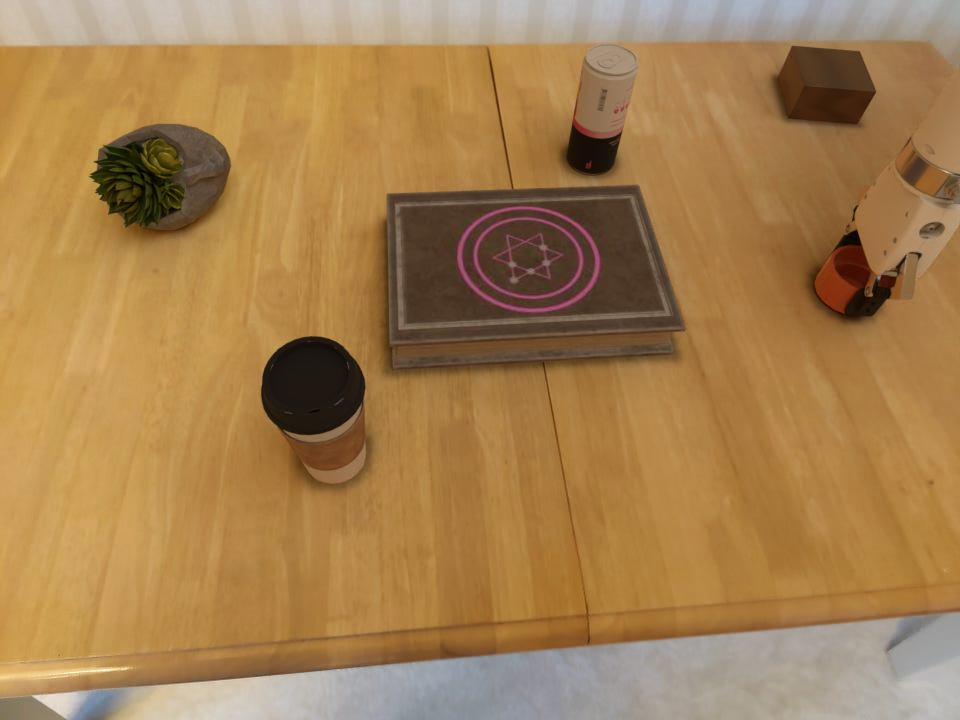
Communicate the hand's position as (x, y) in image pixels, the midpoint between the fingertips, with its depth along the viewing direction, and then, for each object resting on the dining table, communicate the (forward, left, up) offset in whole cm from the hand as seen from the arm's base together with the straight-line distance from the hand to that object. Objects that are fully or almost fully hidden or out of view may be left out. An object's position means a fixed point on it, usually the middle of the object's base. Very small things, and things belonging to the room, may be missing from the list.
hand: (849, 285), depth 78 cm
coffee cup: (+55, +27, -2) cm, 61 cm away
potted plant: (+81, -3, -2) cm, 81 cm away
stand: (-4, -38, -1) cm, 38 cm away
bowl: (0, 0, -1) cm, 1 cm away
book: (+38, +3, -2) cm, 38 cm away
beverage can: (+30, -20, -2) cm, 36 cm away
